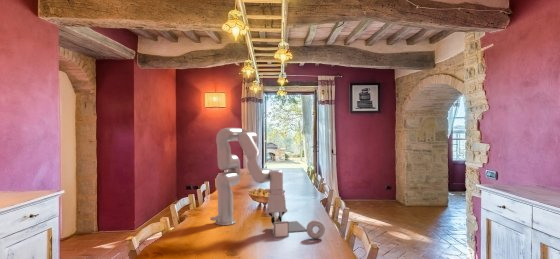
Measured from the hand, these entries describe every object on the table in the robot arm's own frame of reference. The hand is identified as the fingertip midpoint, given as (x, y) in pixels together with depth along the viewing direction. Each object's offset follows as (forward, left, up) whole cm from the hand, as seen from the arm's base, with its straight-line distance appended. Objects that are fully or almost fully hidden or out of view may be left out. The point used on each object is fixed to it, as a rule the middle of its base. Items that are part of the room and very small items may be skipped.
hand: (276, 223), depth 193 cm
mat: (+11, +5, -4) cm, 13 cm away
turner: (0, 0, -2) cm, 2 cm away
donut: (+17, -19, -4) cm, 26 cm away
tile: (0, -11, -4) cm, 12 cm away
